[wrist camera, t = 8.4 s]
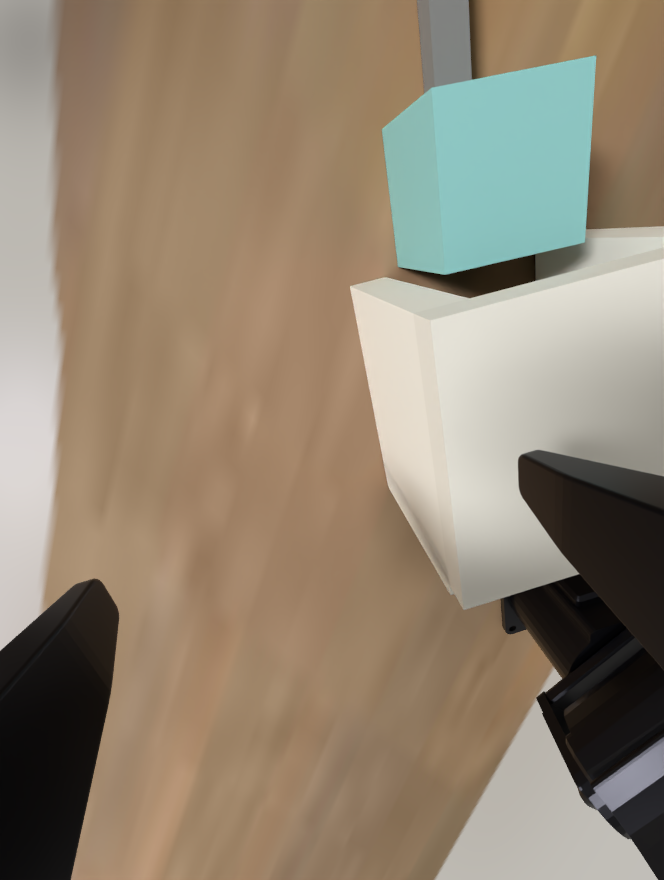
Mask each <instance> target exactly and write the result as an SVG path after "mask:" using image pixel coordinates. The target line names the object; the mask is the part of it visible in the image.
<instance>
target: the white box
mask: <svg viewBox="0 0 664 880" xmlns="http://www.w3.org/2000/svg"><path fill="white" fill-rule="evenodd" d="M535 273H536V281H534V282H530V283H526V284H523V285H519V286H515V287H511V288H507V289H504V290H500V291H496V292H492V293H488V294H485V295H481V296H477V297H473V298H466V297H462V296H458V295H454V294H450V293H446V292H442V291H438V290H434V289H430V288H426V287H422V286H418V285H414V284H410V283H406V282H402V281H398V280H394V279H390V278H386V277H384V278H380V279H376V280H372V281H368V282H365V283H361V284H357V285H353V286H350V289H351V295H352V300H353V305H354V310H355V316H356V321H357V326H358V331H359V336H360V342H361V347H362V352H363V357H364V363H365V368H366V373H367V378H368V384H369V389H370V394H371V399H372V404H373V410H374V415H375V420H376V425H377V431H378V436H379V441H380V446H381V451H382V457H383V462H384V467H385V472H386V478H387V483H388V487H389V489H390V491H391V492H392V494H393V496H394V498H395V499H396V501H397V503H398V505H399V506H400V508H401V510H402V512H403V513H404V515H405V517H406V519H407V520H408V522H409V524H410V525H411V527H412V529H413V531H414V532H415V534H416V536H417V538H418V539H419V541H420V543H421V545H422V546H423V548H424V550H425V552H426V553H427V555H428V557H429V558H430V560H431V562H432V564H433V565H434V567H435V569H436V571H437V572H438V574H439V576H440V578H441V579H442V581H443V583H444V585H445V586H446V588H447V590H448V591H449V593H450V595H452V594H455V596H456V598H457V599H458V601H459V603H460V604H461V606H462V608H463V610H466V609H469V608H472V607H475V606H478V605H482V604H485V603H488V602H491V601H494V600H498V599H501V598H504V597H507V596H510V595H514V594H517V593H520V592H523V591H526V590H530V589H533V588H536V587H539V586H542V585H546V584H549V583H552V582H555V581H558V580H562V579H565V578H568V577H571V576H574V575H578V574H579V573H578V572H577V570H576V569H575V568H574V567H573V566H572V565H571V564H570V562H569V561H568V560H567V559H566V558H565V557H564V555H563V554H562V553H561V552H560V550H559V549H558V548H557V546H556V545H555V544H554V542H553V541H552V539H551V538H550V536H549V535H548V534H547V532H546V531H545V529H544V528H543V526H542V525H541V524H540V522H539V521H538V519H537V518H536V516H535V515H534V514H533V512H532V511H531V509H530V508H529V506H528V505H527V504H526V502H525V501H524V499H523V498H522V496H521V494H520V491H519V485H518V458H519V456H520V455H521V454H524V453H527V452H530V451H534V450H543V451H548V452H553V453H557V454H562V455H567V456H571V457H576V458H581V459H585V460H590V461H595V462H599V463H604V464H609V465H613V466H618V467H623V468H627V469H632V470H637V471H641V472H646V473H651V474H655V475H660V476H664V226H663V227H637V228H611V229H586V233H585V243H581V244H576V245H572V246H568V247H563V248H559V249H555V250H550V251H546V252H542V253H537V254H535Z"/></svg>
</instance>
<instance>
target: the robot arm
mask: <svg viewBox="0 0 664 880" xmlns="http://www.w3.org/2000/svg"><path fill="white" fill-rule="evenodd" d="M518 485H519V491H520V494H521V496H522V498H523V499H524V501H525V502H526V504H527V505H528V506H529V508H530V509H531V511H532V512H533V514H534V515H535V516H536V518H537V519H538V521H539V522H540V524H541V525H542V526H543V528H544V529H545V531H546V532H547V534H548V535H549V536H550V538H551V539H552V541H553V542H554V544H555V545H556V546H557V548H558V549H559V550H560V552H561V553H562V554H563V555H564V557H565V558H566V559H567V560H568V561H569V562H570V564H571V565H572V566H573V567H574V568H575V569H576V570H577V572H578V573H579V574H578V575H574V576H571V577H568V578H565V579H562V580H558V581H555V582H552V583H549V584H546V585H542V586H539V587H536V588H533V589H530V590H526V591H523V592H520V593H517V594H514V595H510V596H507V597H504V598H501V611H502V626H503V629H504V630H505V632H506V633H507V634H514V633H517V632H520V631H523V630H526V629H527V630H528V632H529V633H530V634H531V636H532V637H533V639H534V640H535V641H536V643H537V644H538V645H539V647H540V648H541V650H542V651H543V652H544V654H545V655H546V657H547V658H548V659H549V661H550V662H551V663H552V665H553V666H554V668H555V669H556V670H557V672H558V673H559V675H560V676H561V677H562V680H561V681H559V682H558V683H557V684H556V685H554V686H553V687H552V688H551V689H549V690H548V691H547V692H543V693H541V694H540V695H539V696H538V697H536V698H537V701H538V703H539V705H540V707H541V709H542V711H543V713H542V714H543V717H544V719H545V720H546V723H547V725H548V727H549V729H550V731H551V733H552V736H553V738H554V739H555V742H556V744H557V746H558V748H559V750H560V752H561V755H562V757H563V759H564V760H565V763H566V765H567V767H568V769H569V771H570V773H571V776H572V778H573V780H574V782H575V783H576V785H577V788H578V791H579V794H580V796H581V798H582V799H583V801H584V802H585V803H586V804H587V805H588V806H589V807H591V808H594V809H596V810H598V811H599V812H600V813H601V815H602V816H603V817H604V818H605V819H606V821H607V822H608V823H609V824H610V825H611V826H612V827H613V828H614V829H615V830H616V831H618V832H619V833H620V834H621V835H623V836H624V837H626V838H627V839H632V841H633V842H634V844H635V845H636V846H637V848H638V849H639V851H640V852H641V854H642V856H643V857H644V859H645V860H646V862H647V863H648V865H649V866H650V868H651V869H652V871H653V872H654V874H655V876H656V877H657V878H658V880H664V476H660V475H655V474H651V473H646V472H641V471H637V470H632V469H627V468H623V467H618V466H613V465H609V464H604V463H599V462H595V461H590V460H585V459H581V458H576V457H571V456H567V455H562V454H557V453H553V452H548V451H543V450H534V451H530V452H527V453H524V454H521V455H520V456H519V458H518ZM118 624H119V612H118V608H117V606H116V604H115V603H114V601H113V599H112V598H111V596H110V594H109V593H108V591H107V590H106V588H105V586H104V585H103V583H102V582H101V581H100V580H98V579H91V580H88V581H84V582H81V583H77V584H76V585H74V586H73V587H72V588H70V589H69V590H68V591H67V592H66V593H65V594H64V595H63V596H61V597H60V598H59V599H58V600H57V601H56V602H55V603H54V604H52V605H51V606H50V607H49V608H48V609H47V610H46V611H45V612H43V613H42V614H41V615H40V616H39V617H38V618H37V619H36V620H35V621H33V622H32V623H31V624H30V625H29V626H28V627H27V628H26V629H24V630H23V631H22V632H21V633H20V634H19V635H18V636H16V637H15V638H14V639H13V640H12V641H11V642H10V643H9V644H7V645H6V646H5V647H4V648H3V649H2V650H1V651H0V880H71V876H72V871H73V867H74V862H75V857H76V853H77V848H78V843H79V839H80V834H81V829H82V825H83V820H84V816H85V811H86V806H87V802H88V797H89V792H90V788H91V783H92V778H93V774H94V769H95V765H96V760H97V755H98V751H99V746H100V741H101V737H102V732H103V727H104V723H105V718H106V714H107V709H108V704H109V699H110V694H111V687H112V680H113V671H114V661H115V652H116V642H117V633H118Z"/></svg>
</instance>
